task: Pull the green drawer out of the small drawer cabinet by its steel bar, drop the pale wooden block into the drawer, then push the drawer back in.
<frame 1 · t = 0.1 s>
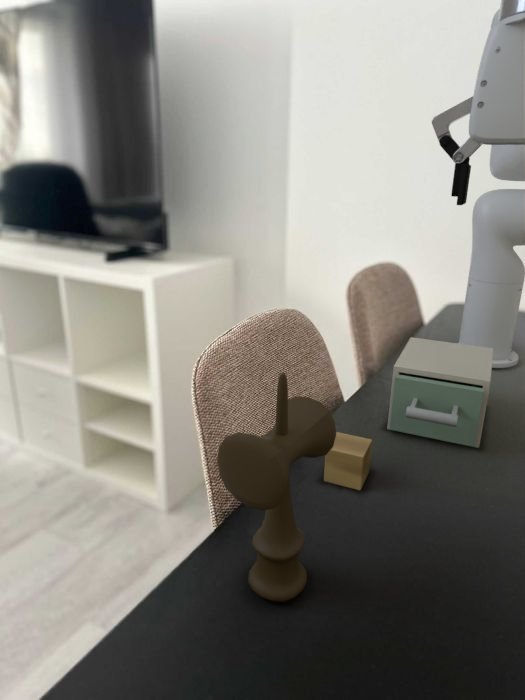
hand: (511, 206, 52), 31 cm above the table, tool pointing down, fingers open, 9 cm apart
green drawer: (438, 399, 70), point 5 cm above the table, slide at 0.5 cm
block: (346, 476, 61), on the table
small drawer cabinet: (437, 417, 76), on the table
kendama: (277, 585, 45), on the table
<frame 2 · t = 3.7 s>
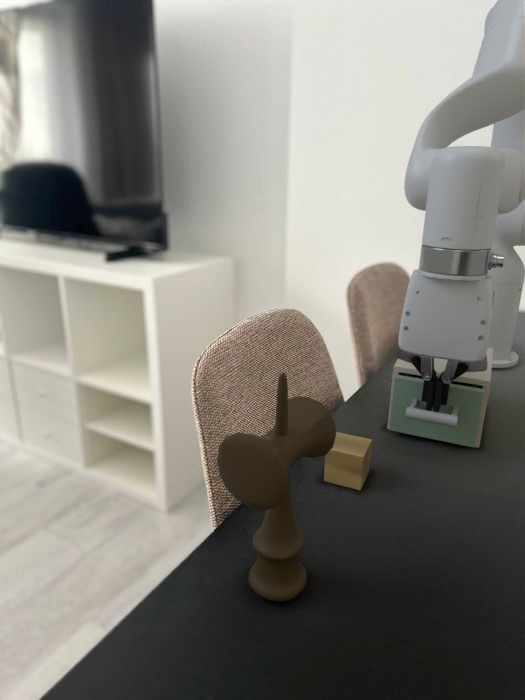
hand: (433, 407, 65), 6 cm above the table, tool pointing down, fingers closed
green drawer: (437, 400, 70), point 5 cm above the table, slide at 0.7 cm, touching gripper
everything else where it was.
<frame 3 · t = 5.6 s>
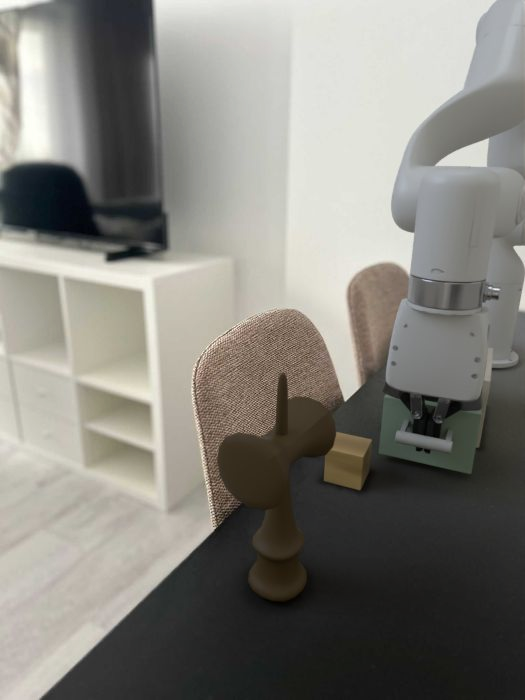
hand: (424, 446, 60), 4 cm above the table, tool pointing down, fingers closed
green drawer: (431, 420, 65), point 5 cm above the table, slide at 7.4 cm, touching gripper
everything else where it was.
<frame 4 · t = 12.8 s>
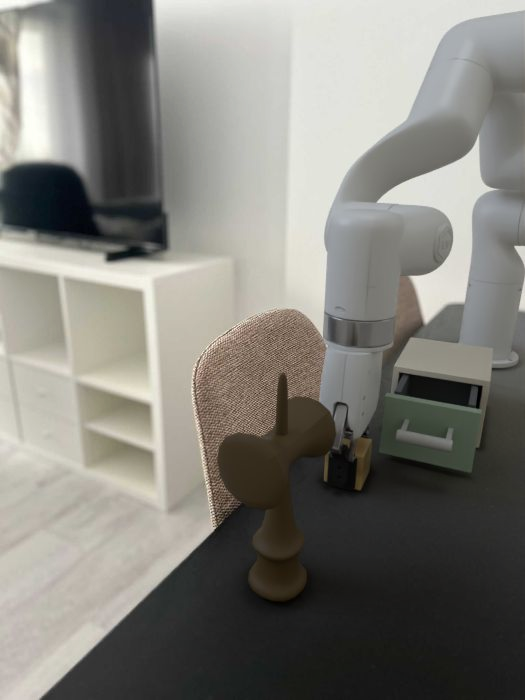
hand: (347, 473, 61), 0 cm above the table, tool pointing down, fingers closed on block, 4 cm apart
green drawer: (431, 419, 65), point 5 cm above the table, slide at 7.2 cm
block: (346, 476, 61), on the table, touching gripper
everything else where it was.
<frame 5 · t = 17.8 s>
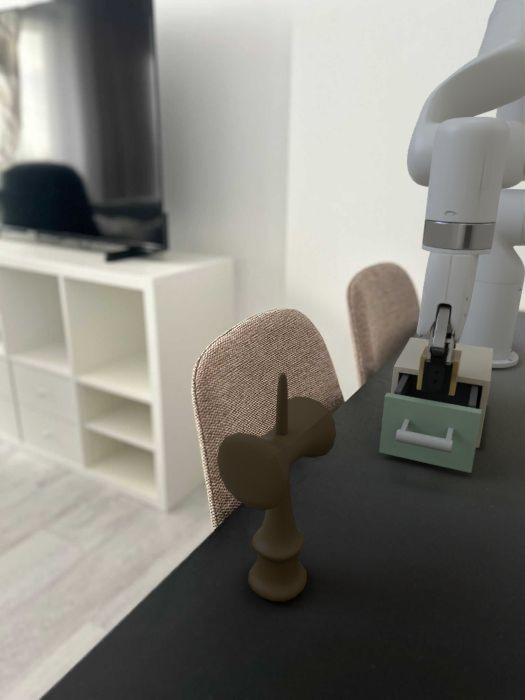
hand: (437, 383, 64), 9 cm above the table, tool pointing down, fingers closed on block, 4 cm apart
block: (437, 386, 64), point 9 cm above the table, touching gripper
everything else where it was.
when the fingers open (11 cm above the table, at t = 26.9 s): block drops 9 cm, resting on green drawer.
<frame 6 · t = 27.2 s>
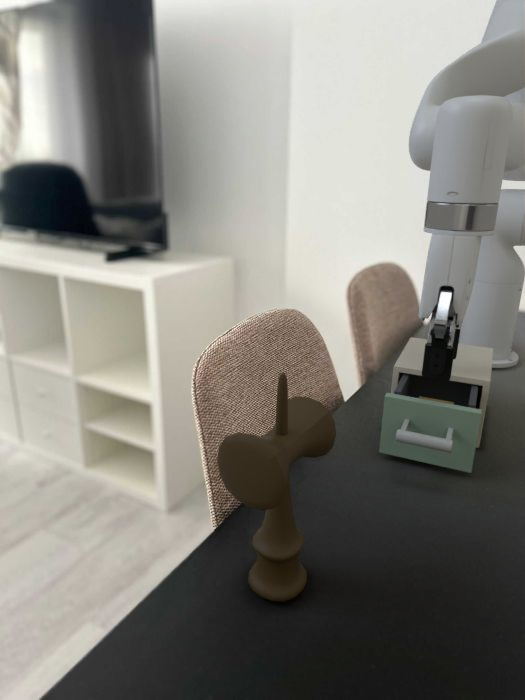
hand: (439, 366, 63), 12 cm above the table, tool pointing down, fingers open, 7 cm apart
green drawer: (431, 419, 65), point 5 cm above the table, slide at 7.2 cm, touching block
block: (430, 436, 66), point 2 cm above the table, touching green drawer
everything else where it was.
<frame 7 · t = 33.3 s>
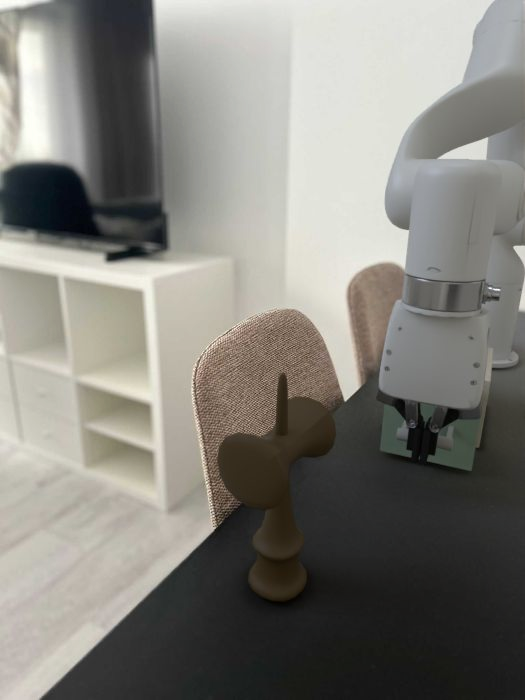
hand: (420, 457, 56), 5 cm above the table, tool pointing down, fingers closed
green drawer: (432, 418, 65), point 5 cm above the table, slide at 6.7 cm, touching block, gripper
everything else where it was.
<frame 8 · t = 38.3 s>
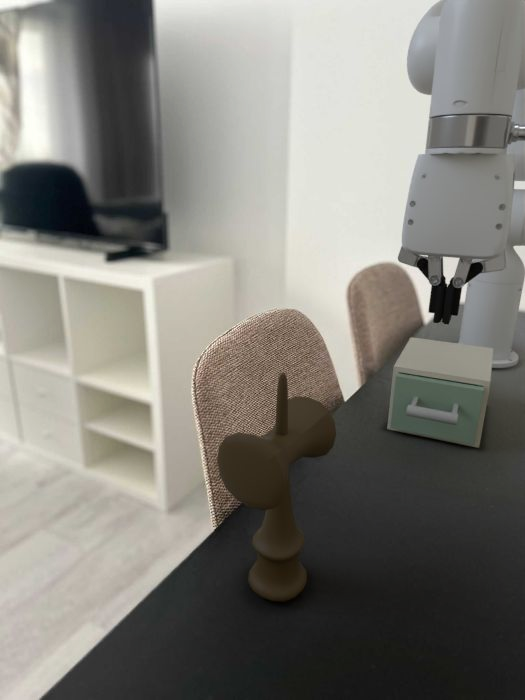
hand: (442, 320, 56), 19 cm above the table, tool pointing down, fingers closed
green drawer: (438, 398, 71), point 5 cm above the table, slide at 0.0 cm, touching block, small drawer cabinet
block: (436, 413, 73), point 2 cm above the table, touching green drawer
everything else where it was.
at the end: green drawer pulled out 7.4 cm at the most during the clip, back to where it started at the end; block inside the target area in the small drawer cabinet (2.5 cm from its centre), point 2.0 cm above the small drawer cabinet's base; green drawer slide at 0.0 cm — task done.
